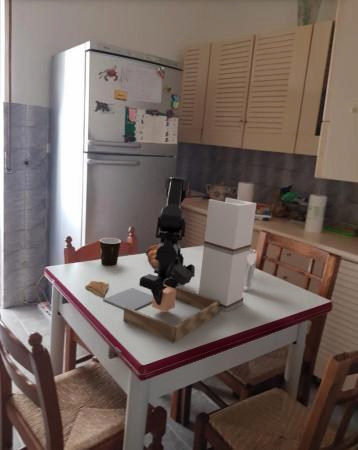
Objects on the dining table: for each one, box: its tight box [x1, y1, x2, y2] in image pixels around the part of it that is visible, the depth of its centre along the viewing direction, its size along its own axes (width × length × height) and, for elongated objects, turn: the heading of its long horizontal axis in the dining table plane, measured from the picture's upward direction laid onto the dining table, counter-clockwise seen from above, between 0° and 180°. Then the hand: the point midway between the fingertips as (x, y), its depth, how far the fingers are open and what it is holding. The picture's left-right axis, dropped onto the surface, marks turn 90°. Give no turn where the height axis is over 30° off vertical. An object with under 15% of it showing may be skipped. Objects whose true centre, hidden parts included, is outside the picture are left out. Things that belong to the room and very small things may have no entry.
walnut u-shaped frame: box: [123, 285, 220, 344], centre depth 115 cm, size 25×18×4 cm
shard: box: [84, 280, 110, 298], centre depth 129 cm, size 11×8×2 cm
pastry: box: [145, 243, 159, 269], centre depth 166 cm, size 17×15×8 cm
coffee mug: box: [99, 237, 122, 267], centre depth 155 cm, size 12×9×10 cm
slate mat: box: [102, 287, 153, 311], centre depth 124 cm, size 14×12×1 cm
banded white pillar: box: [198, 197, 257, 313], centre depth 126 cm, size 11×11×35 cm
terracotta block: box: [151, 284, 176, 313], centre depth 116 cm, size 5×5×6 cm
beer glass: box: [243, 248, 258, 292], centre depth 142 cm, size 7×7×15 cm
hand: (163, 302), depth 117 cm, fingers closed on terracotta block, 5 cm apart
